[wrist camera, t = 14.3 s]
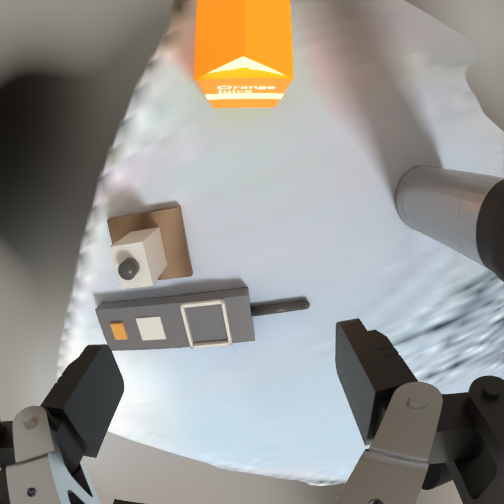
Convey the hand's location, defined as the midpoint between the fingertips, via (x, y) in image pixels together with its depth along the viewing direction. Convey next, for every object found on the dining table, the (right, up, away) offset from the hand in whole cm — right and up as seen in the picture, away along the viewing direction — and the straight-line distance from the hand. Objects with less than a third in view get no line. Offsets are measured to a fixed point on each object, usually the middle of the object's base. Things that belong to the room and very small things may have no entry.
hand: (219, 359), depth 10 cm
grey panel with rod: (-6, -5, +33) cm, 34 cm away
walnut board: (-12, +4, +30) cm, 33 cm away
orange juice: (0, +25, +24) cm, 35 cm away
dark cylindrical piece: (+61, -53, +50) cm, 95 cm away
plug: (-12, +4, +29) cm, 31 cm away
